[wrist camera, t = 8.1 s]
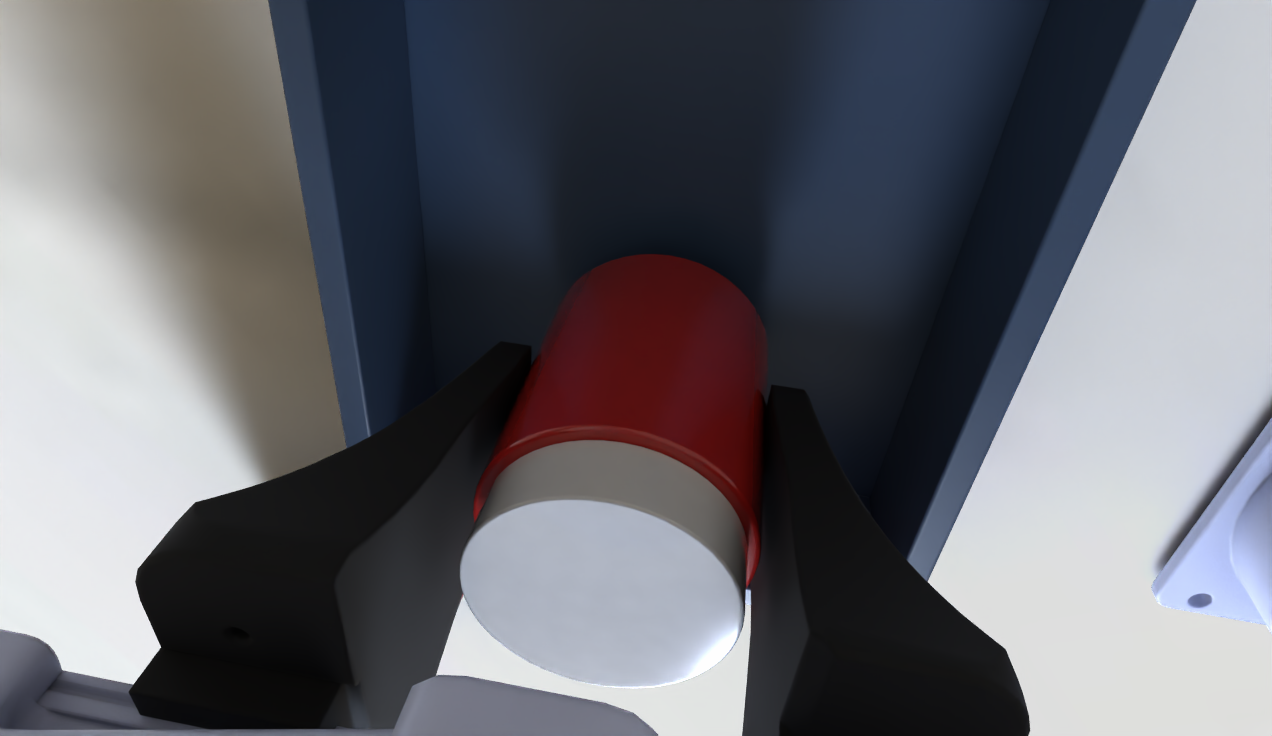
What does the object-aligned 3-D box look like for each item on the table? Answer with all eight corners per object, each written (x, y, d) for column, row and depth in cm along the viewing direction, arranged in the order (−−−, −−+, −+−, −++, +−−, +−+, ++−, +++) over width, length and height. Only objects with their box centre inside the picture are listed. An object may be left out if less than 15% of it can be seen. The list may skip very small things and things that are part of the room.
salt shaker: (788, 270, 15) (788, 520, 10) (748, 448, 18) (731, 719, 13) (555, 236, 16) (435, 459, 10) (550, 415, 18) (453, 666, 13)
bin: (1247, -443, 10) (1457, -556, 7) (886, 502, 20) (904, 634, 17) (337, -513, 11) (152, -640, 8) (425, 424, 21) (360, 535, 18)
